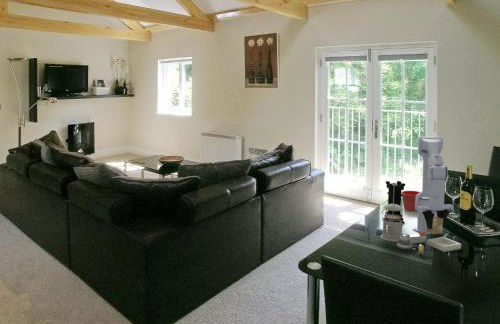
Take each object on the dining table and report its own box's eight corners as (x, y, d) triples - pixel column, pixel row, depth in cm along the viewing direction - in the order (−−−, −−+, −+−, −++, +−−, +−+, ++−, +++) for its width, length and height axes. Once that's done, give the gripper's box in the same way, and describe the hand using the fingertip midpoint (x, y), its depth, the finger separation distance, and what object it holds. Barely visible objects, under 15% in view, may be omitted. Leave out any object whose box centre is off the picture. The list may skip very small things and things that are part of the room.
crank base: (404, 243, 166) (405, 235, 166) (427, 253, 155) (427, 245, 154) (393, 245, 164) (393, 237, 164) (415, 255, 153) (415, 247, 152)
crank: (402, 244, 160) (403, 235, 159) (397, 241, 164) (397, 232, 163) (427, 242, 162) (427, 233, 161) (421, 239, 166) (421, 230, 165)
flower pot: (396, 207, 222) (397, 191, 220) (412, 206, 225) (413, 189, 223) (409, 212, 212) (410, 195, 210) (426, 210, 215) (427, 193, 213)
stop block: (432, 234, 157) (433, 219, 156) (426, 230, 161) (427, 216, 160) (441, 233, 157) (442, 219, 156) (435, 230, 161) (436, 216, 160)
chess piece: (404, 223, 193) (406, 184, 190) (388, 223, 193) (389, 184, 190) (398, 218, 201) (400, 180, 198) (383, 219, 201) (384, 180, 198)
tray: (443, 241, 168) (443, 236, 167) (460, 248, 159) (461, 243, 159) (426, 244, 165) (427, 239, 164) (444, 252, 156) (444, 246, 156)
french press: (388, 242, 168) (391, 185, 164) (373, 233, 179) (375, 180, 175) (408, 240, 170) (411, 183, 166) (392, 231, 181) (394, 178, 178)
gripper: (426, 198, 152) (424, 232, 154) (459, 196, 154) (457, 229, 156) (415, 194, 159) (413, 226, 161) (447, 192, 161) (445, 224, 163)
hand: (434, 227), depth 159 cm, fingers closed on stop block, 4 cm apart
